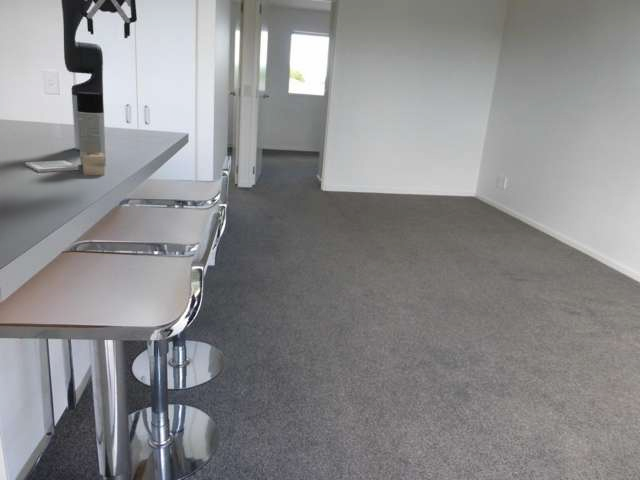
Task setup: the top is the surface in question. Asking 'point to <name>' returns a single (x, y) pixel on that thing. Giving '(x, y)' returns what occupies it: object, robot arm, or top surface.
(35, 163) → the reading tile
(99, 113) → the tall grey carton
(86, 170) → the letter cube
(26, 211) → the top surface
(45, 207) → the top surface
